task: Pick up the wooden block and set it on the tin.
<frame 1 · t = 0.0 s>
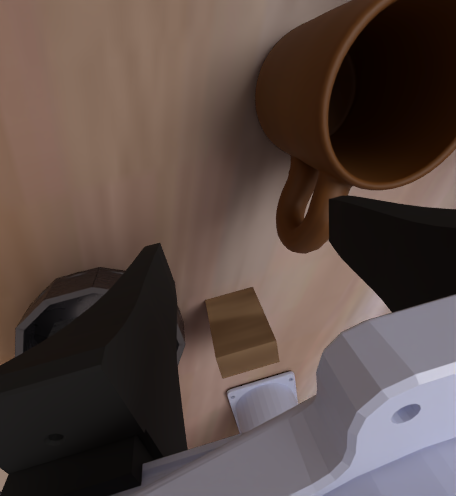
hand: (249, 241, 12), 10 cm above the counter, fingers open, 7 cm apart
wooden block: (231, 303, 27), on the counter
tin: (110, 328, 25), on the counter
mug: (290, 127, 20), on the counter
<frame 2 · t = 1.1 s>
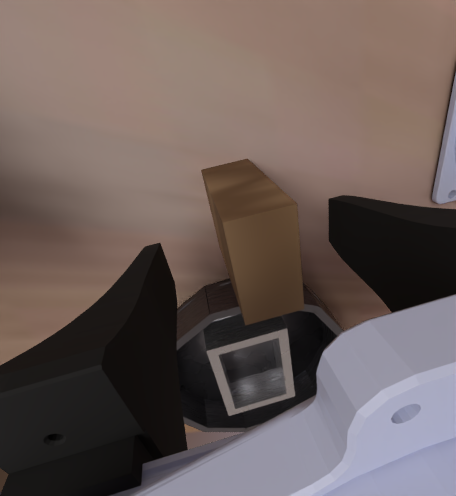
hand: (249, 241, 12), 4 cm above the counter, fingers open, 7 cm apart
wooden block: (232, 205, 16), on the counter
tin: (246, 345, 21), on the counter
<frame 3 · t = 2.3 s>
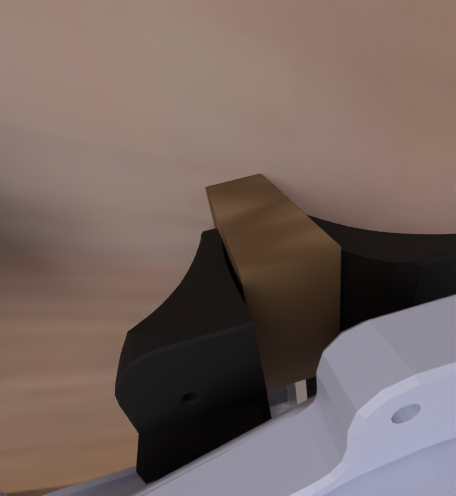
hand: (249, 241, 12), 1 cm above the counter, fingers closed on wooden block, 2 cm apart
wooden block: (241, 227, 13), on the counter, touching gripper
tin: (254, 378, 19), on the counter
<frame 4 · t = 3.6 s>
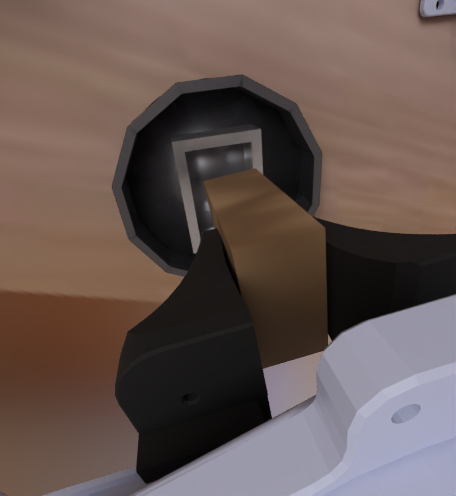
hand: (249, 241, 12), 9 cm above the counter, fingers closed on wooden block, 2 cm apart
wooden block: (238, 220, 14), point 7 cm above the counter, touching gripper
tin: (217, 184, 20), on the counter
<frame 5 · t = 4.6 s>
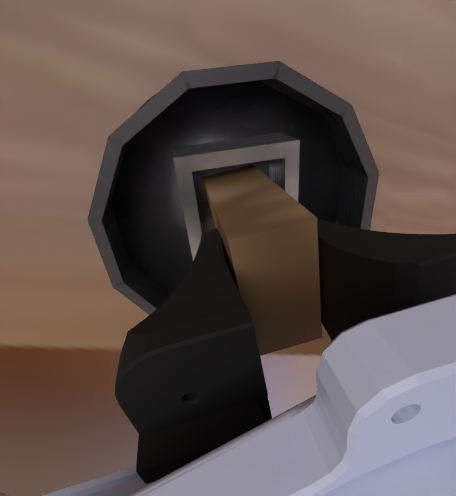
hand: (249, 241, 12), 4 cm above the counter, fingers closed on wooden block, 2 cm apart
wooden block: (236, 215, 14), point 1 cm above the counter, touching gripper
tin: (232, 209, 15), on the counter
when the fingers open (3 cm above the counter, at t = 5.1 s): wooden block stays where it is, resting on tin.
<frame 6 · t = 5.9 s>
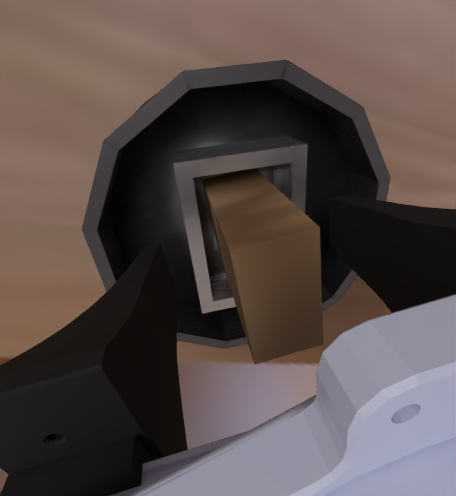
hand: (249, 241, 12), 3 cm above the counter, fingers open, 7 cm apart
wooden block: (236, 218, 14), resting on tin
tin: (235, 215, 14), on the counter
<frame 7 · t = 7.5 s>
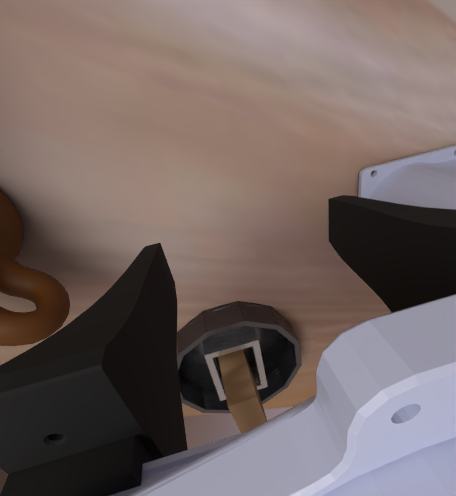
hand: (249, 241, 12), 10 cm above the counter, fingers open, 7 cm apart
wooden block: (233, 353, 29), resting on tin
tin: (232, 350, 30), on the counter
mug: (2, 228, 20), on the counter
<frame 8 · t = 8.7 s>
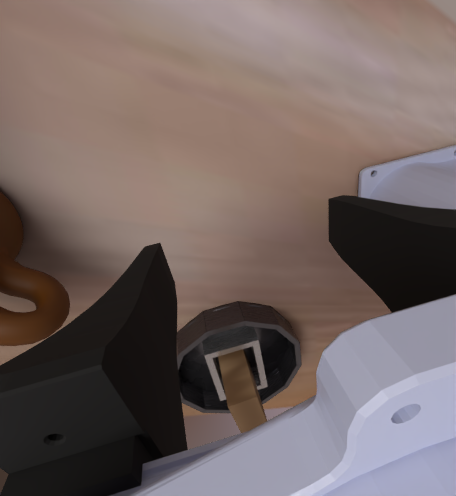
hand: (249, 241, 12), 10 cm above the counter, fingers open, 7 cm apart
wooden block: (233, 353, 29), resting on tin
tin: (232, 350, 30), on the counter
mug: (2, 228, 20), on the counter
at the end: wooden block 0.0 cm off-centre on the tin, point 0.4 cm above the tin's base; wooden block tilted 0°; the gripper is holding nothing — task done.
